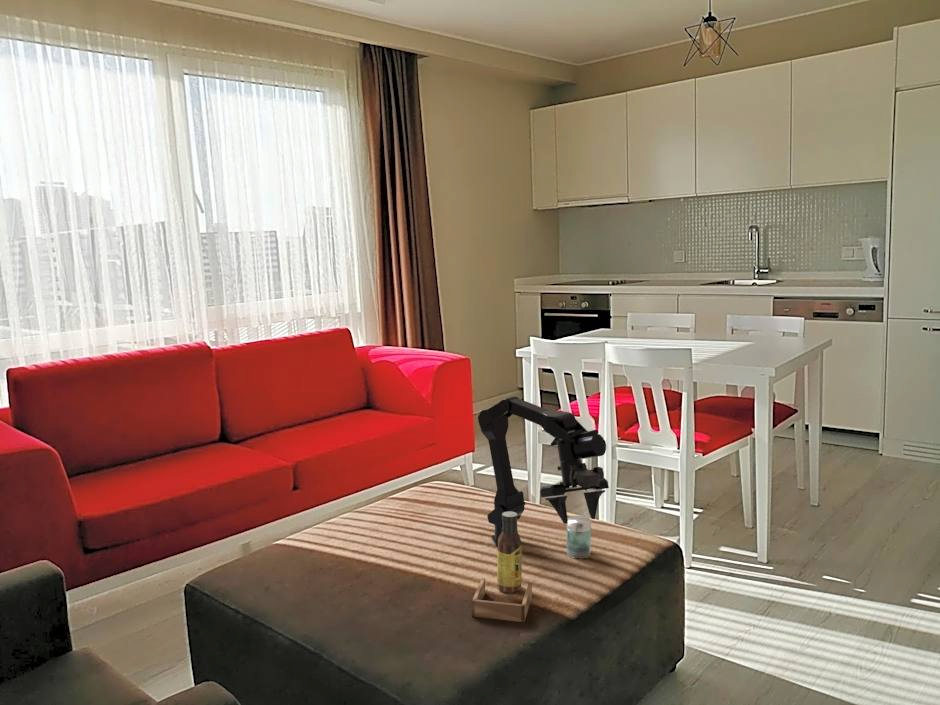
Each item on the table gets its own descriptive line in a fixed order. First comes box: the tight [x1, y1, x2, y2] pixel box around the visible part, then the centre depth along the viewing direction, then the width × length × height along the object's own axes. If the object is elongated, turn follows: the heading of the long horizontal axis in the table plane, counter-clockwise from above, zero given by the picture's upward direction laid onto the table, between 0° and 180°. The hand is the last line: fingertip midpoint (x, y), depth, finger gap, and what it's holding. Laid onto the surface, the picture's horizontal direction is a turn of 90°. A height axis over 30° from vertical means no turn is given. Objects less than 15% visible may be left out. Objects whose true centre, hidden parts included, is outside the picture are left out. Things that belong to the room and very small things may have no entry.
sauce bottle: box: [496, 511, 523, 594], centre depth 199 cm, size 7×6×20 cm
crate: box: [471, 577, 533, 623], centre depth 191 cm, size 12×13×4 cm
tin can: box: [566, 515, 592, 559], centre depth 220 cm, size 7×7×10 cm
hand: (579, 521), depth 204 cm, fingers open, 9 cm apart
